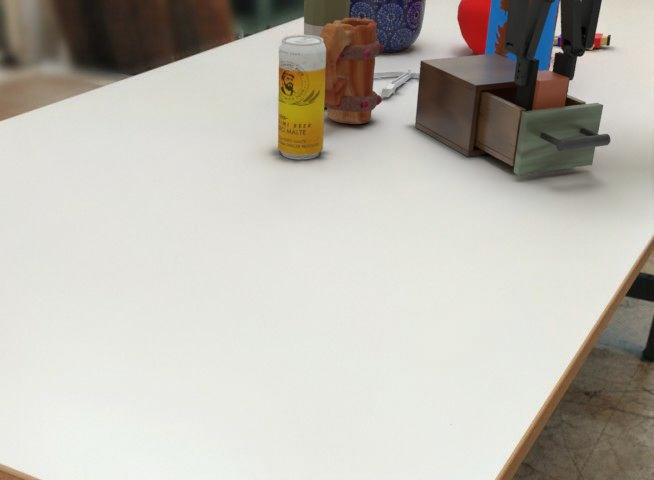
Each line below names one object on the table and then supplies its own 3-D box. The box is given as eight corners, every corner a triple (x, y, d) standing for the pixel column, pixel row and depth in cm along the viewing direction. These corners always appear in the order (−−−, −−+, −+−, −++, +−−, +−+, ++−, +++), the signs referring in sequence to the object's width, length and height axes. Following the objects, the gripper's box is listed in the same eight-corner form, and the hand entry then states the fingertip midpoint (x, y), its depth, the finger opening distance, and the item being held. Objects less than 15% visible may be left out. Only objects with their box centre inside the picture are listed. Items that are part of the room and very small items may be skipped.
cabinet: (545, 146, 131) (556, 76, 125) (467, 157, 126) (476, 85, 121) (487, 118, 142) (495, 53, 137) (414, 127, 138) (420, 60, 133)
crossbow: (374, 77, 166) (375, 65, 165) (444, 84, 162) (445, 72, 161) (347, 93, 152) (348, 80, 151) (423, 102, 148) (424, 88, 148)
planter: (433, 43, 186) (441, -38, 178) (403, 60, 173) (410, -26, 165) (357, 34, 192) (361, -44, 184) (322, 50, 180) (325, -33, 172)
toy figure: (544, 36, 184) (608, 37, 179) (550, 29, 189) (612, 30, 185) (543, 49, 185) (607, 51, 181) (549, 42, 190) (610, 43, 186)
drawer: (617, 177, 117) (630, 115, 113) (541, 188, 114) (552, 125, 110) (531, 135, 132) (539, 79, 128) (461, 144, 128) (468, 86, 124)
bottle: (298, 109, 145) (303, -107, 129) (303, 97, 151) (308, -111, 135) (343, 111, 144) (353, -106, 129) (347, 99, 150) (357, -110, 135)
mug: (340, 109, 146) (344, 7, 138) (387, 117, 142) (395, 13, 134) (293, 133, 135) (295, 24, 127) (343, 142, 131) (348, 31, 123)
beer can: (269, 155, 126) (269, 40, 118) (293, 143, 131) (295, 32, 123) (307, 163, 123) (310, 46, 116) (330, 152, 128) (335, 38, 120)
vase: (500, 40, 189) (514, -64, 178) (572, 58, 176) (590, -52, 166) (433, 51, 180) (443, -58, 170) (503, 71, 167) (518, -45, 157)
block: (563, 112, 119) (569, 77, 117) (534, 116, 118) (540, 81, 116) (543, 104, 123) (548, 69, 121) (514, 107, 121) (519, 72, 119)
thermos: (508, 74, 165) (529, -82, 152) (559, 87, 158) (585, -76, 145) (468, 84, 159) (486, -78, 146) (518, 98, 152) (542, -72, 139)
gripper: (609, -99, 114) (577, 94, 126) (488, -95, 108) (465, 107, 120) (652, -93, 108) (613, 109, 120) (525, -89, 102) (498, 123, 114)
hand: (539, 107), depth 120 cm, fingers closed on block, 4 cm apart
